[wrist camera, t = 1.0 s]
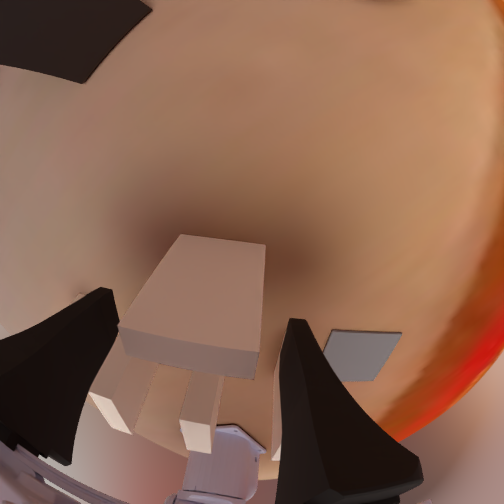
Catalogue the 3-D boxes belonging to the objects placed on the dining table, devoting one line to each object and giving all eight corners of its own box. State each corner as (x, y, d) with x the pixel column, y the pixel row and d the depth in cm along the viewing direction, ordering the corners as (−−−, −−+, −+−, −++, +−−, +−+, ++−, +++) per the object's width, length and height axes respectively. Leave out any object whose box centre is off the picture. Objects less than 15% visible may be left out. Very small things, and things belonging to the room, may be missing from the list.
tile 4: (273, 372, 21) (270, 460, 14) (285, 330, 18) (287, 433, 11) (292, 374, 21) (294, 461, 14) (307, 332, 18) (317, 433, 11)
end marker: (310, 378, 21) (311, 380, 21) (332, 329, 18) (332, 331, 18) (372, 379, 21) (373, 380, 21) (401, 332, 18) (402, 334, 18)
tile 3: (207, 363, 21) (186, 449, 14) (207, 320, 18) (178, 419, 11) (226, 366, 21) (211, 454, 14) (229, 323, 18) (209, 425, 11)
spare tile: (180, 234, 15) (117, 325, 8) (265, 244, 15) (259, 352, 8) (180, 257, 16) (126, 354, 9) (262, 268, 16) (253, 379, 9)
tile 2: (145, 350, 21) (111, 427, 14) (135, 306, 18) (87, 390, 11) (162, 355, 21) (132, 434, 14) (155, 311, 18) (111, 399, 11)
